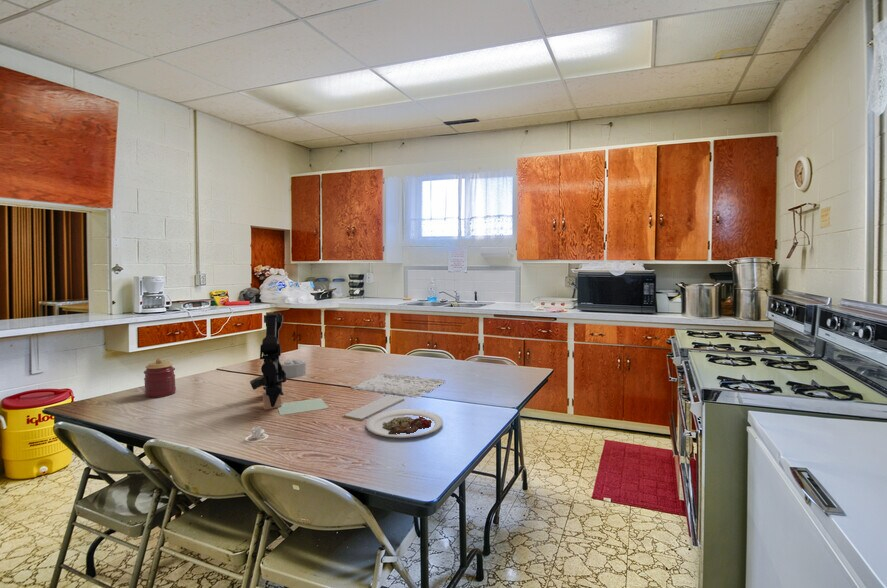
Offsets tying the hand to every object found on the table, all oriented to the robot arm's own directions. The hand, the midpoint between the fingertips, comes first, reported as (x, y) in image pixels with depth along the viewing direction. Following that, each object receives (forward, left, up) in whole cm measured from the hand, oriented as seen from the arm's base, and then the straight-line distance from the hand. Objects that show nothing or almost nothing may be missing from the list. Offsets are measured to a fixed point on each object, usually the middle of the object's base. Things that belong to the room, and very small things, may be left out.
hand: (272, 405), depth 201 cm
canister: (-48, -46, -2) cm, 67 cm away
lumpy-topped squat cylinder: (-56, +17, -2) cm, 59 cm away
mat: (+4, +12, -2) cm, 13 cm away
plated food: (+46, +44, -2) cm, 64 cm away
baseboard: (+19, +40, -2) cm, 44 cm away
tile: (0, 0, -1) cm, 1 cm away
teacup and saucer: (+32, -6, -2) cm, 33 cm away
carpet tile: (-9, +63, -2) cm, 64 cm away
